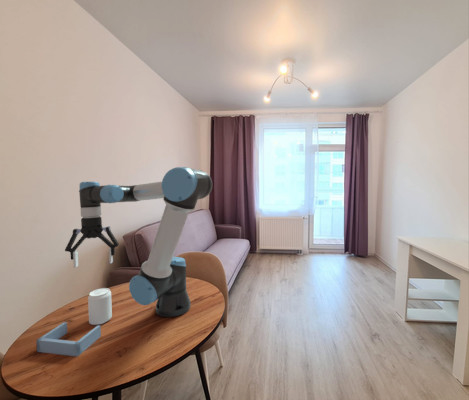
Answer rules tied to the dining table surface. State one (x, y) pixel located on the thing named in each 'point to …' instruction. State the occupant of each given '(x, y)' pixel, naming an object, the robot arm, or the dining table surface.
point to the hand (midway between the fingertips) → (94, 264)
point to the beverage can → (99, 306)
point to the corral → (64, 347)
